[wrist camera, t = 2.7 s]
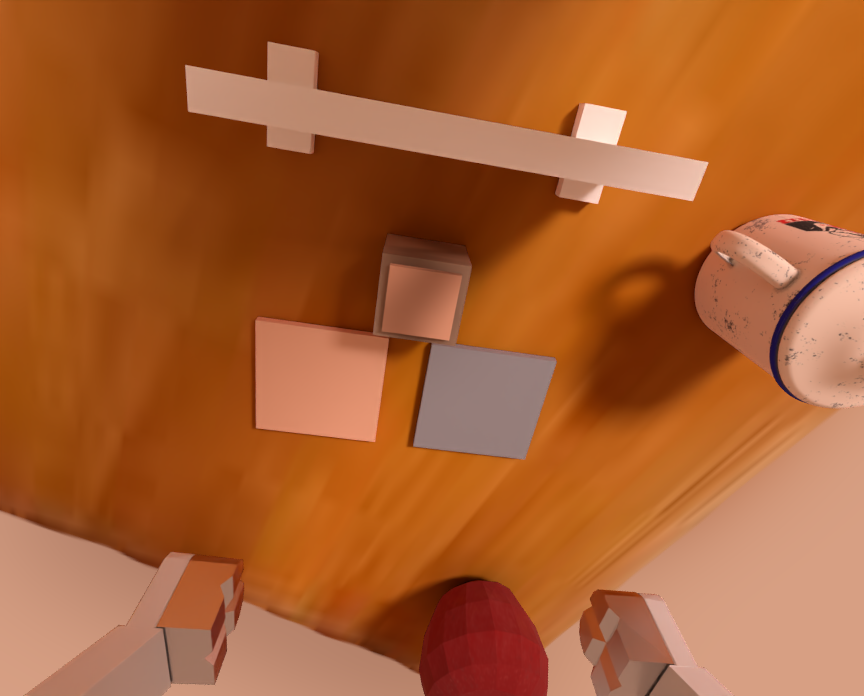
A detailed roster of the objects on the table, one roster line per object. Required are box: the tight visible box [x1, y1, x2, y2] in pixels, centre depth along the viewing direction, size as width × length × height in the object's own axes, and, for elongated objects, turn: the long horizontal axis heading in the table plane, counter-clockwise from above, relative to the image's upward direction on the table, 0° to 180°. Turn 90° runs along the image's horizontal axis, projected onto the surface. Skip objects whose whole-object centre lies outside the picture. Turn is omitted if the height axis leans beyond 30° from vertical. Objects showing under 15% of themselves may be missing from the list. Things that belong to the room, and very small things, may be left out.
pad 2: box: [413, 343, 557, 459], centre depth 35 cm, size 9×9×1 cm
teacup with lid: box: [694, 214, 864, 408], centre depth 26 cm, size 12×9×12 cm
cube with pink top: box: [373, 234, 472, 346], centre depth 29 cm, size 5×5×5 cm
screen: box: [185, 42, 709, 204], centre depth 22 cm, size 20×5×10 cm, turn 81°
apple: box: [419, 580, 548, 696], centre depth 40 cm, size 11×11×12 cm
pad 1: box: [255, 317, 389, 442], centre depth 34 cm, size 9×9×1 cm
